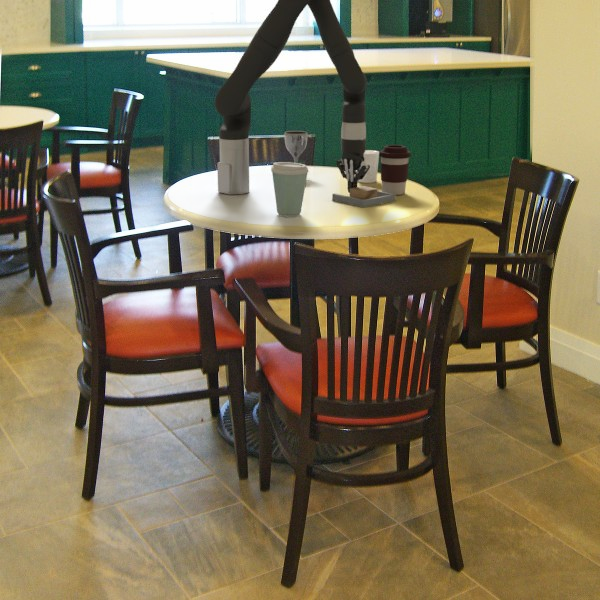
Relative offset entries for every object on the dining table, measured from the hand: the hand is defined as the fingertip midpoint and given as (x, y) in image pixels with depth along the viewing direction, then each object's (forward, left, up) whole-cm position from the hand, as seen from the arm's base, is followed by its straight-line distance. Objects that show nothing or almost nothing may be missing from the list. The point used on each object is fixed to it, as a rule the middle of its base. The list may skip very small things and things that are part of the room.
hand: (352, 192), depth 276 cm
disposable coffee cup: (-30, -5, -2) cm, 31 cm away
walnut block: (0, -5, -2) cm, 5 cm away
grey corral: (0, -5, -2) cm, 5 cm away
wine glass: (+12, +40, -2) cm, 42 cm away
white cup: (+23, +16, -2) cm, 28 cm away
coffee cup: (+15, -4, -2) cm, 15 cm away
